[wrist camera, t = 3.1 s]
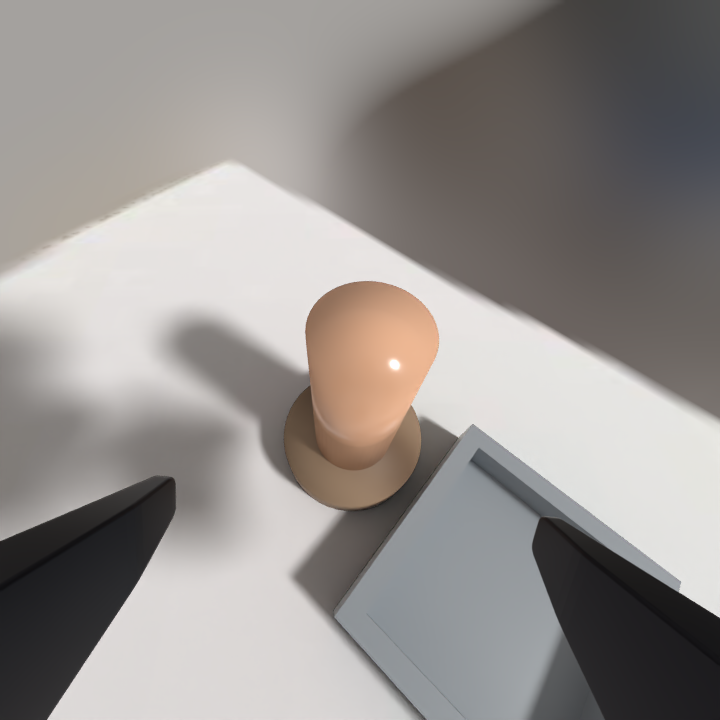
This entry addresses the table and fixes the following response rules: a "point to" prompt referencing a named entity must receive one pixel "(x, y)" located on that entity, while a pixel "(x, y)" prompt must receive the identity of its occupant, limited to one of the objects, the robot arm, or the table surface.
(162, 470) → the table surface
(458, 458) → the tray
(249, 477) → the table surface
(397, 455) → the brown stone
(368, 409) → the peach stamp handle
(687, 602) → the robot arm
